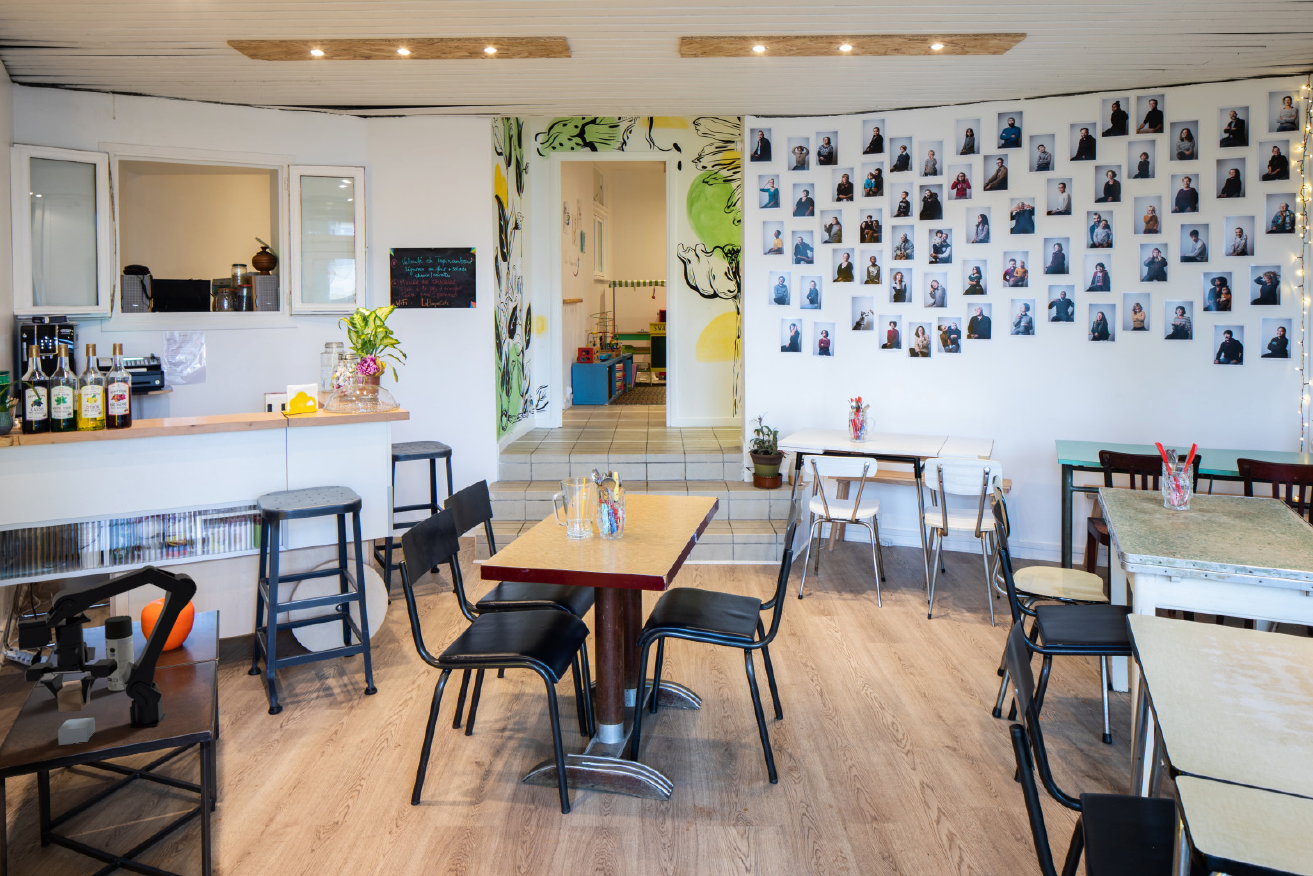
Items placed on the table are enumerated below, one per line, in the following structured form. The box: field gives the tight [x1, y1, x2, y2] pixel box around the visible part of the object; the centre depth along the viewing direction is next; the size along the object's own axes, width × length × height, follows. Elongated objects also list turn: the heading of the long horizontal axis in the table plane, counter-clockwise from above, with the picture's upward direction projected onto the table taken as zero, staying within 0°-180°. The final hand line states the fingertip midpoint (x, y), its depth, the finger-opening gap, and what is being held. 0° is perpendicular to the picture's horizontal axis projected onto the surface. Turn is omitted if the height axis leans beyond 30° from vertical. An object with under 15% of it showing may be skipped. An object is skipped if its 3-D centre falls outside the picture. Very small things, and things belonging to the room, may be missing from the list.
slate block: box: [57, 717, 96, 746], centre depth 223 cm, size 6×6×4 cm
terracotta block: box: [62, 679, 81, 687], centre depth 248 cm, size 5×5×4 cm
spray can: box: [104, 614, 135, 692], centre depth 255 cm, size 7×7×20 cm
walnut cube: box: [57, 683, 91, 713], centre depth 223 cm, size 5×5×5 cm
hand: (74, 703), depth 223 cm, fingers closed on walnut cube, 5 cm apart
